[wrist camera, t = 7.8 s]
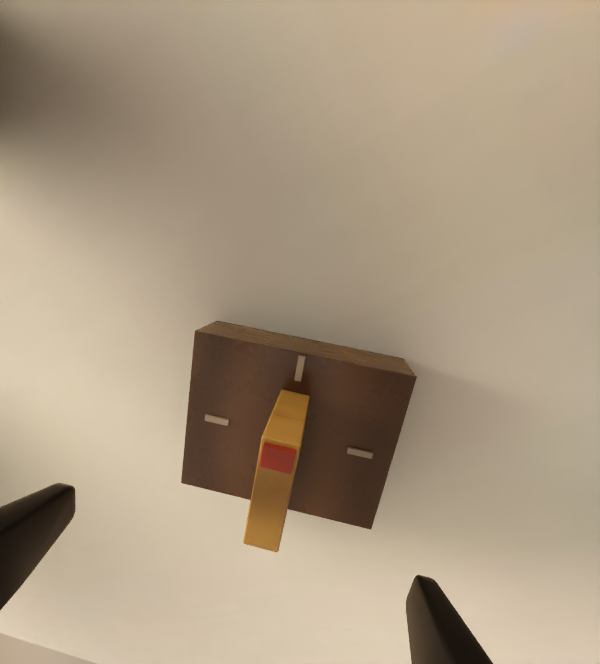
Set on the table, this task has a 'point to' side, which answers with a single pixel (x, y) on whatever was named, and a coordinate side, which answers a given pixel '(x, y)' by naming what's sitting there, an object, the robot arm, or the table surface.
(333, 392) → the plate
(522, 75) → the table surface
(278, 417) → the thumb turn
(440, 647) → the robot arm
